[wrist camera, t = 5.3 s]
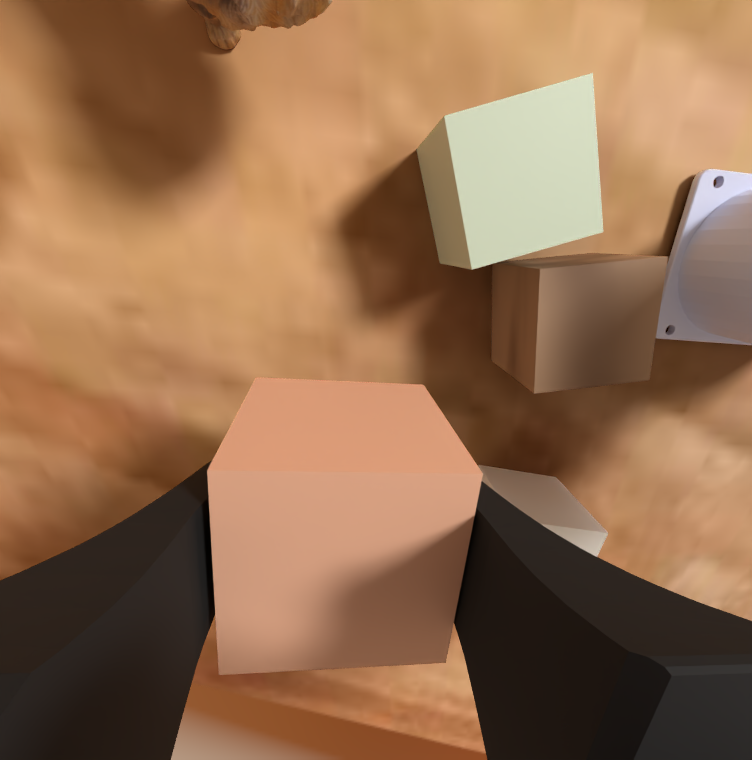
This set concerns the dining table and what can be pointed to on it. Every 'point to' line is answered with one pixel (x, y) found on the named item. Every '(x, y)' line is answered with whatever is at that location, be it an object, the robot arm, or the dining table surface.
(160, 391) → the dining table surface
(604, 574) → the robot arm
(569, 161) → the sage block
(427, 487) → the terracotta block
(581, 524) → the pale grey block
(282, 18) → the lion figurine
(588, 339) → the walnut block
